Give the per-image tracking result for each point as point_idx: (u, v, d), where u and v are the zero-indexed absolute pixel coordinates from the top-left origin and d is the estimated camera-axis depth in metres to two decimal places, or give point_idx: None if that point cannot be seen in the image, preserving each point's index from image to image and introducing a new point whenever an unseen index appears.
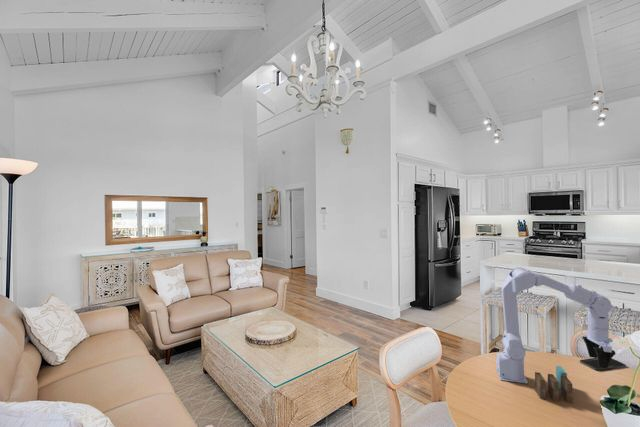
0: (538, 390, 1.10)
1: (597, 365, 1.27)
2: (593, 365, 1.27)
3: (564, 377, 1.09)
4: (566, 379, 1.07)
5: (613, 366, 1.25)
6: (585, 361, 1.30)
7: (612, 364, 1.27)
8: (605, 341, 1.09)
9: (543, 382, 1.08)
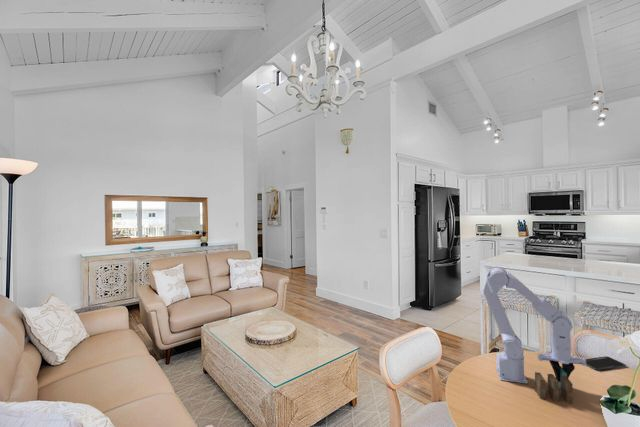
0: (538, 390, 1.10)
1: (597, 365, 1.27)
2: (593, 365, 1.27)
3: (564, 377, 1.09)
4: (566, 379, 1.07)
5: (613, 366, 1.25)
6: None
7: (612, 364, 1.27)
8: (553, 357, 1.13)
9: (543, 382, 1.08)
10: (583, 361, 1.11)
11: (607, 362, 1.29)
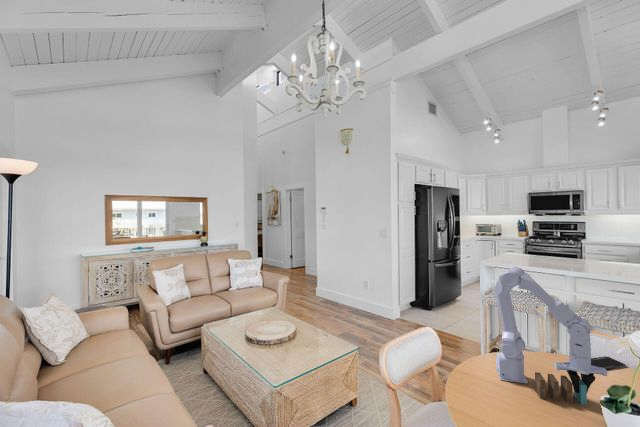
0: (538, 390, 1.10)
1: (597, 365, 1.27)
2: (593, 365, 1.27)
3: (564, 377, 1.09)
4: (566, 379, 1.07)
5: (613, 366, 1.25)
6: None
7: (612, 364, 1.27)
8: (572, 367, 1.06)
9: (543, 382, 1.08)
10: (604, 371, 1.03)
11: (607, 362, 1.29)
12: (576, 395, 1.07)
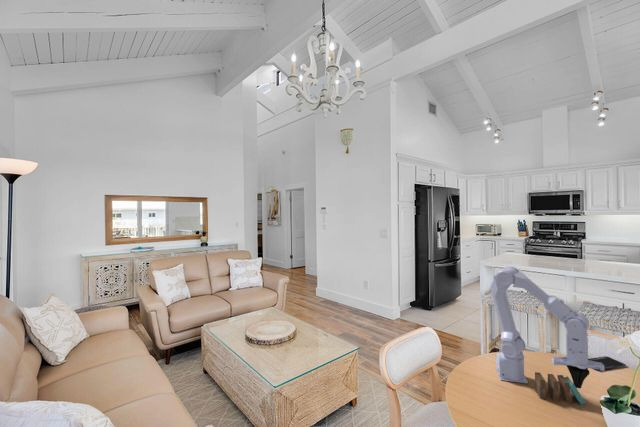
0: (538, 390, 1.10)
1: None
2: None
3: (560, 376, 1.09)
4: (563, 378, 1.08)
5: (613, 366, 1.25)
6: None
7: (612, 364, 1.27)
8: (569, 361, 1.06)
9: (543, 382, 1.08)
10: (601, 366, 1.03)
11: (607, 362, 1.29)
12: (574, 395, 1.08)
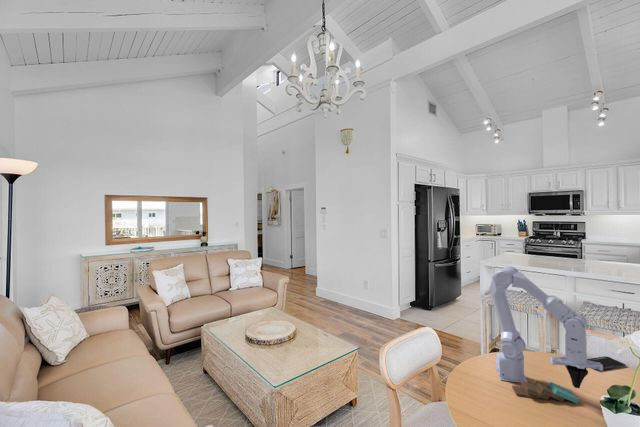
0: None
1: None
2: None
3: (537, 384, 1.11)
4: (539, 385, 1.10)
5: (613, 366, 1.25)
6: None
7: (612, 364, 1.27)
8: (568, 361, 1.06)
9: (519, 395, 1.10)
10: (600, 366, 1.03)
11: (607, 362, 1.29)
12: None
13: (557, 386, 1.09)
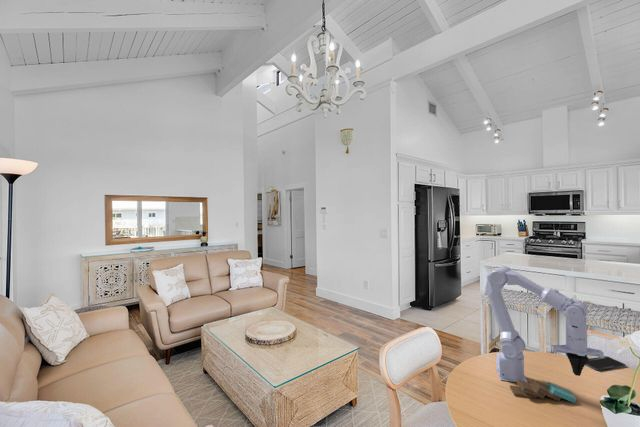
0: None
1: (597, 365, 1.27)
2: (593, 365, 1.27)
3: (534, 383, 1.11)
4: (535, 384, 1.10)
5: (613, 366, 1.25)
6: None
7: (612, 364, 1.27)
8: (568, 349, 1.06)
9: (517, 395, 1.10)
10: (600, 353, 1.03)
11: (607, 362, 1.29)
12: None
13: (555, 386, 1.10)
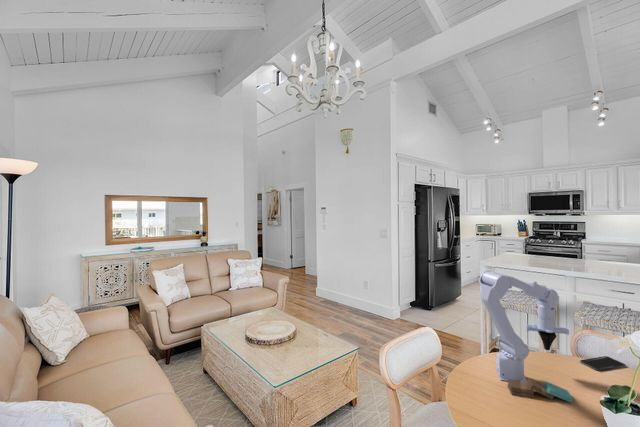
0: None
1: (597, 365, 1.27)
2: (593, 365, 1.27)
3: (528, 380, 1.13)
4: (530, 382, 1.12)
5: (613, 366, 1.25)
6: (585, 361, 1.30)
7: (612, 364, 1.27)
8: (539, 327, 1.24)
9: (514, 394, 1.11)
10: (566, 330, 1.21)
11: (607, 362, 1.29)
12: None
13: (552, 385, 1.10)
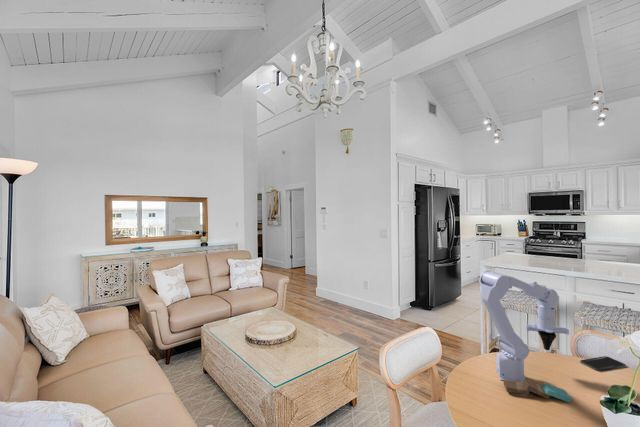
0: None
1: (597, 365, 1.27)
2: (593, 365, 1.27)
3: (524, 381, 1.13)
4: (525, 382, 1.12)
5: (613, 366, 1.25)
6: (585, 361, 1.30)
7: (612, 364, 1.27)
8: (539, 327, 1.24)
9: (514, 394, 1.10)
10: (566, 330, 1.21)
11: (607, 362, 1.29)
12: None
13: (550, 386, 1.10)
